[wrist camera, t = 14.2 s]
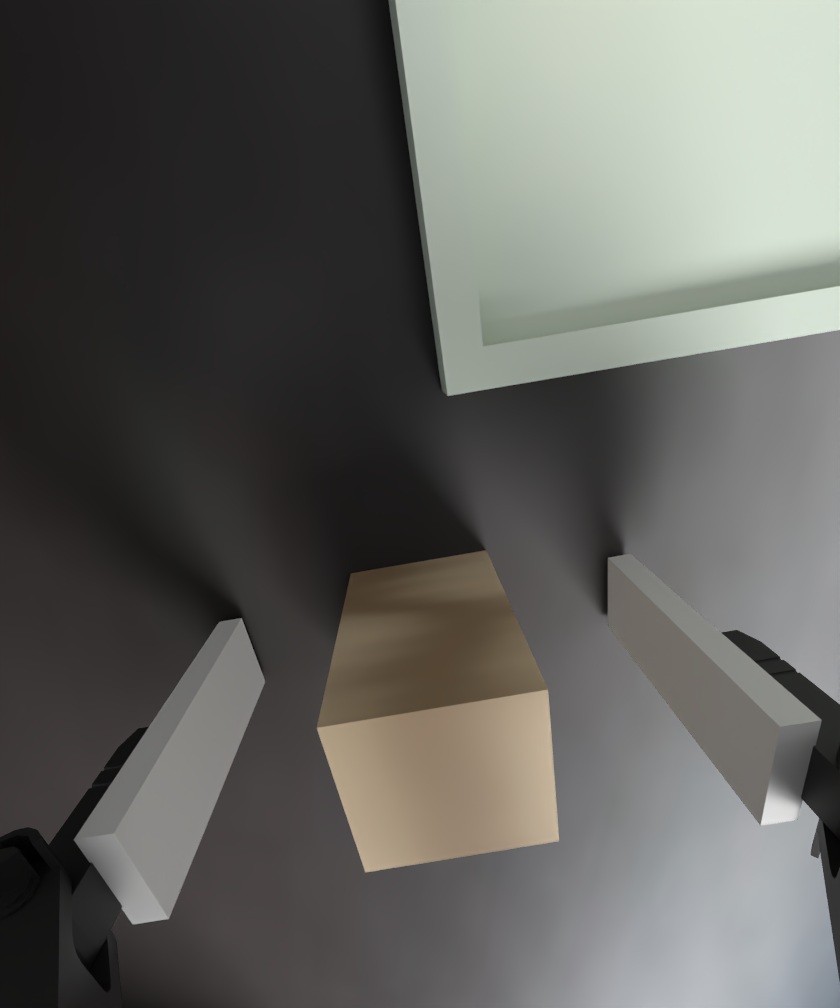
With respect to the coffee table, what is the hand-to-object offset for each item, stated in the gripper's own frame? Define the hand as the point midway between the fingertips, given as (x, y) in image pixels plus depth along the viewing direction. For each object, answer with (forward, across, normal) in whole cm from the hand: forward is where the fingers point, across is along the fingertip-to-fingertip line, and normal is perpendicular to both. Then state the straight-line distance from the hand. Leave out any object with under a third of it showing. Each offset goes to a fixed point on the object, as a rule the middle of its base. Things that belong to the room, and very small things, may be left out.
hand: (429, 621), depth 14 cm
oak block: (0, 0, 0) cm, 0 cm away
